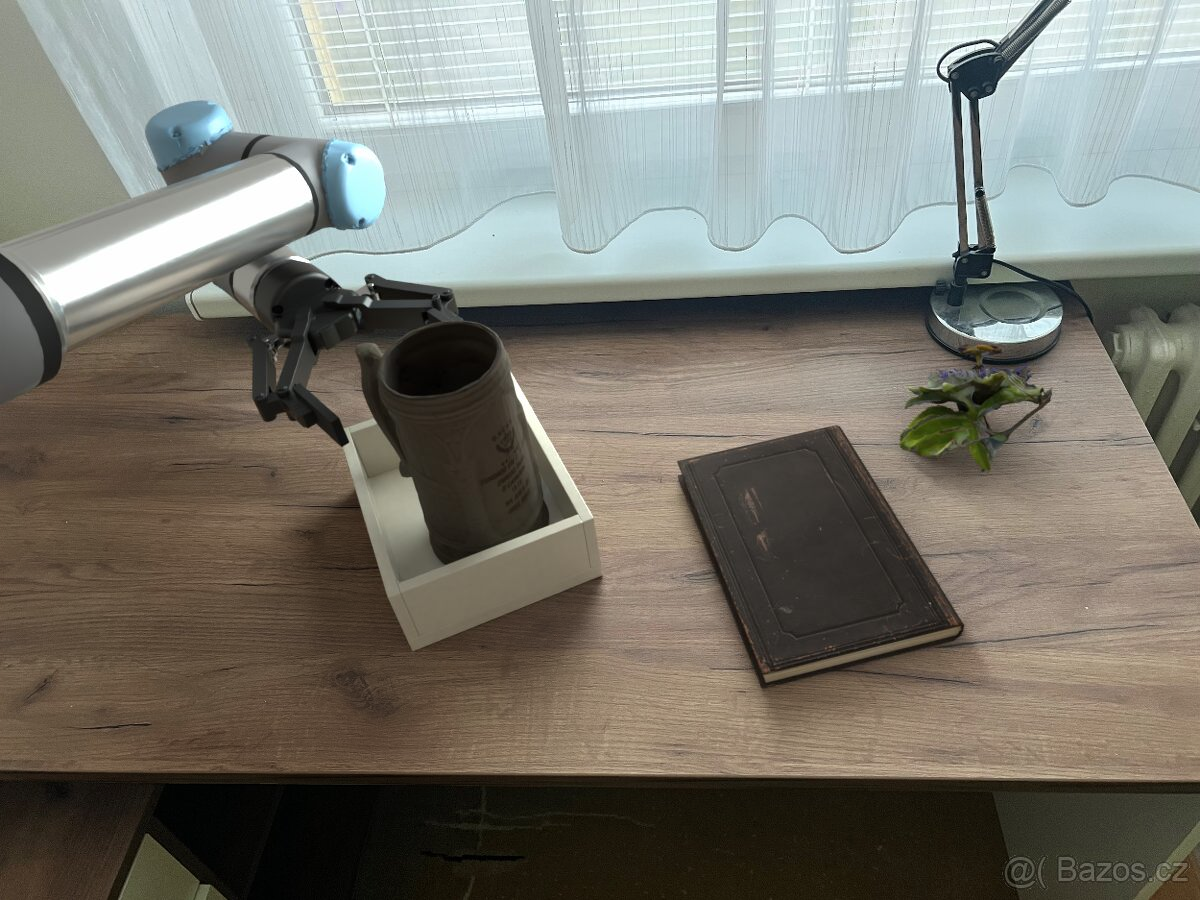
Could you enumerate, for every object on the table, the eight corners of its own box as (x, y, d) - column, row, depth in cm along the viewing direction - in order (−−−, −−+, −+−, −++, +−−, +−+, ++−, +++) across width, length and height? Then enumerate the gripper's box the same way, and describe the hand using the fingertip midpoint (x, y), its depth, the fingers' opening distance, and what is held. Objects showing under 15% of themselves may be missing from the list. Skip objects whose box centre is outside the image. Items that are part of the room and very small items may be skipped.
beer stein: (576, 499, 79) (528, 317, 66) (526, 591, 72) (461, 409, 59) (433, 473, 85) (362, 301, 72) (374, 556, 78) (284, 383, 65)
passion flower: (952, 454, 88) (1036, 358, 83) (1001, 520, 79) (1098, 417, 73) (864, 412, 85) (945, 309, 79) (905, 476, 75) (999, 365, 70)
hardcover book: (761, 689, 66) (762, 672, 64) (678, 477, 82) (677, 460, 81) (961, 639, 67) (967, 622, 65) (839, 440, 83) (841, 423, 82)
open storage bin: (412, 652, 71) (387, 597, 66) (361, 485, 86) (337, 430, 80) (603, 575, 75) (594, 517, 70) (523, 427, 89) (510, 371, 84)
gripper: (406, 272, 92) (533, 353, 80) (186, 389, 82) (293, 503, 70) (387, 208, 87) (519, 284, 75) (149, 324, 76) (258, 435, 64)
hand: (411, 390), depth 72 cm, fingers open, 13 cm apart
